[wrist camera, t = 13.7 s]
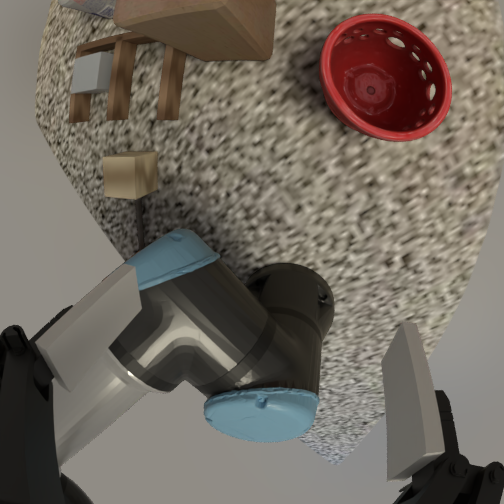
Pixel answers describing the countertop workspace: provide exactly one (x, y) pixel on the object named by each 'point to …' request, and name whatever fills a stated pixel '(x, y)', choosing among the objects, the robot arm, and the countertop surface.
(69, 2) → the energy drink
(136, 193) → the corded block
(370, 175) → the countertop surface
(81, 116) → the lane rack
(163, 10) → the wooden block
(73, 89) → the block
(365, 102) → the plant pot
